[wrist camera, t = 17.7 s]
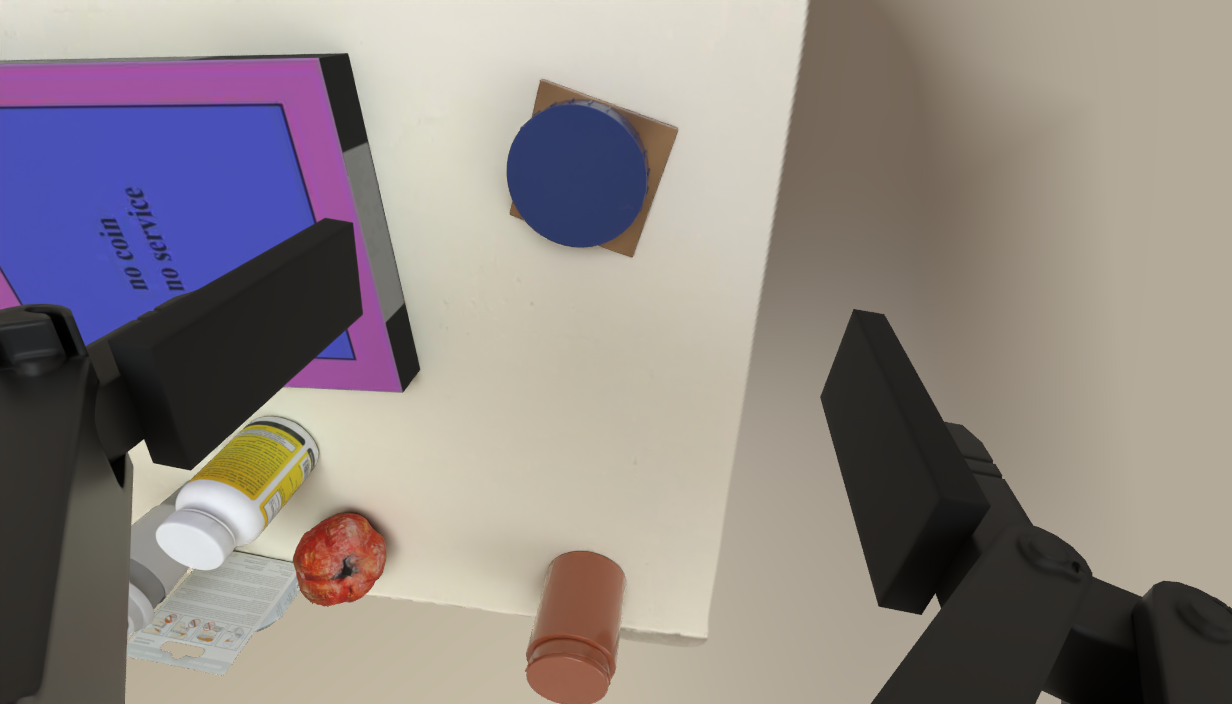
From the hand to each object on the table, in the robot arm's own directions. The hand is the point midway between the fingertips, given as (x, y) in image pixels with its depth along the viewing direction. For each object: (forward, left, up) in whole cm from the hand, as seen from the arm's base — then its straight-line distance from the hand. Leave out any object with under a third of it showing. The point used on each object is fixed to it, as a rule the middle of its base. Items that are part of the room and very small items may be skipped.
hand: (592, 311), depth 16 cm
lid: (+3, +3, -19) cm, 20 cm away
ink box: (+23, +50, -22) cm, 59 cm away
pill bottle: (+21, +33, -22) cm, 44 cm away
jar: (-7, +38, -21) cm, 44 cm away
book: (+28, +16, -22) cm, 39 cm away
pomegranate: (+14, +41, -22) cm, 48 cm away
